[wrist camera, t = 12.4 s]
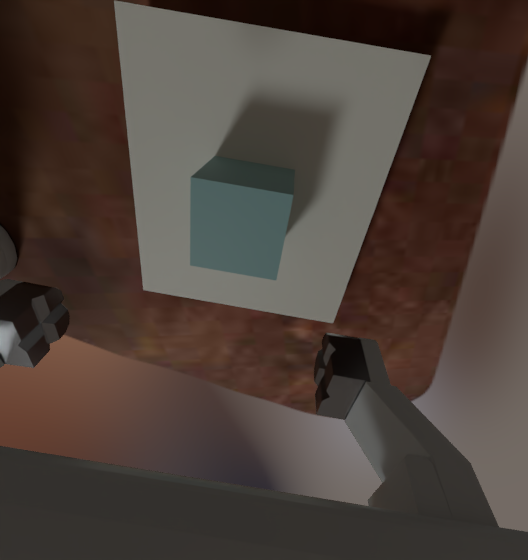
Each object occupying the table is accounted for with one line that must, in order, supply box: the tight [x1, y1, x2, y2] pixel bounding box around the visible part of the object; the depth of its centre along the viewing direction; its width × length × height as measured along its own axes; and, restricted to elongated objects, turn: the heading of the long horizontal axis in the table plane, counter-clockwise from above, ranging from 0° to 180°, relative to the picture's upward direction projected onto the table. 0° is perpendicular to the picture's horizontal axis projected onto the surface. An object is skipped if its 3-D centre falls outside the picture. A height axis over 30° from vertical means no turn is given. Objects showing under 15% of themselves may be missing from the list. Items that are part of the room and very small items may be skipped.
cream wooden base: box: [114, 1, 431, 323], centre depth 21 cm, size 18×16×3 cm
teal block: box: [190, 156, 295, 280], centre depth 18 cm, size 5×5×5 cm
